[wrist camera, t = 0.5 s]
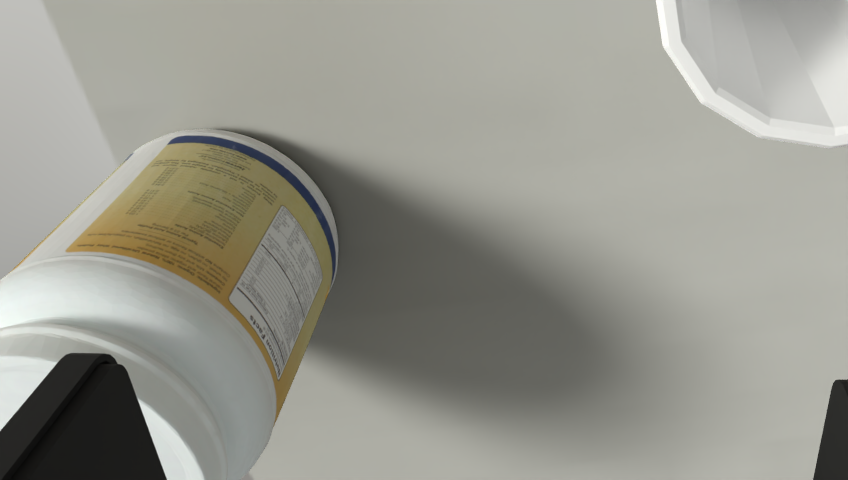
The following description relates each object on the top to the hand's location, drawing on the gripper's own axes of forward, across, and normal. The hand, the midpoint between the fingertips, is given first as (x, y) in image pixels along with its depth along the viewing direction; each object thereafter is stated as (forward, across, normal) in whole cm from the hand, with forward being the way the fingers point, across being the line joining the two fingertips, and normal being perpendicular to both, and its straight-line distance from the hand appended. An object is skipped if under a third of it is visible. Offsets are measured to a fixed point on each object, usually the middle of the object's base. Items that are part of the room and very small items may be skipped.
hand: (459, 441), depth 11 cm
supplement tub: (+27, +16, +12) cm, 34 cm away
